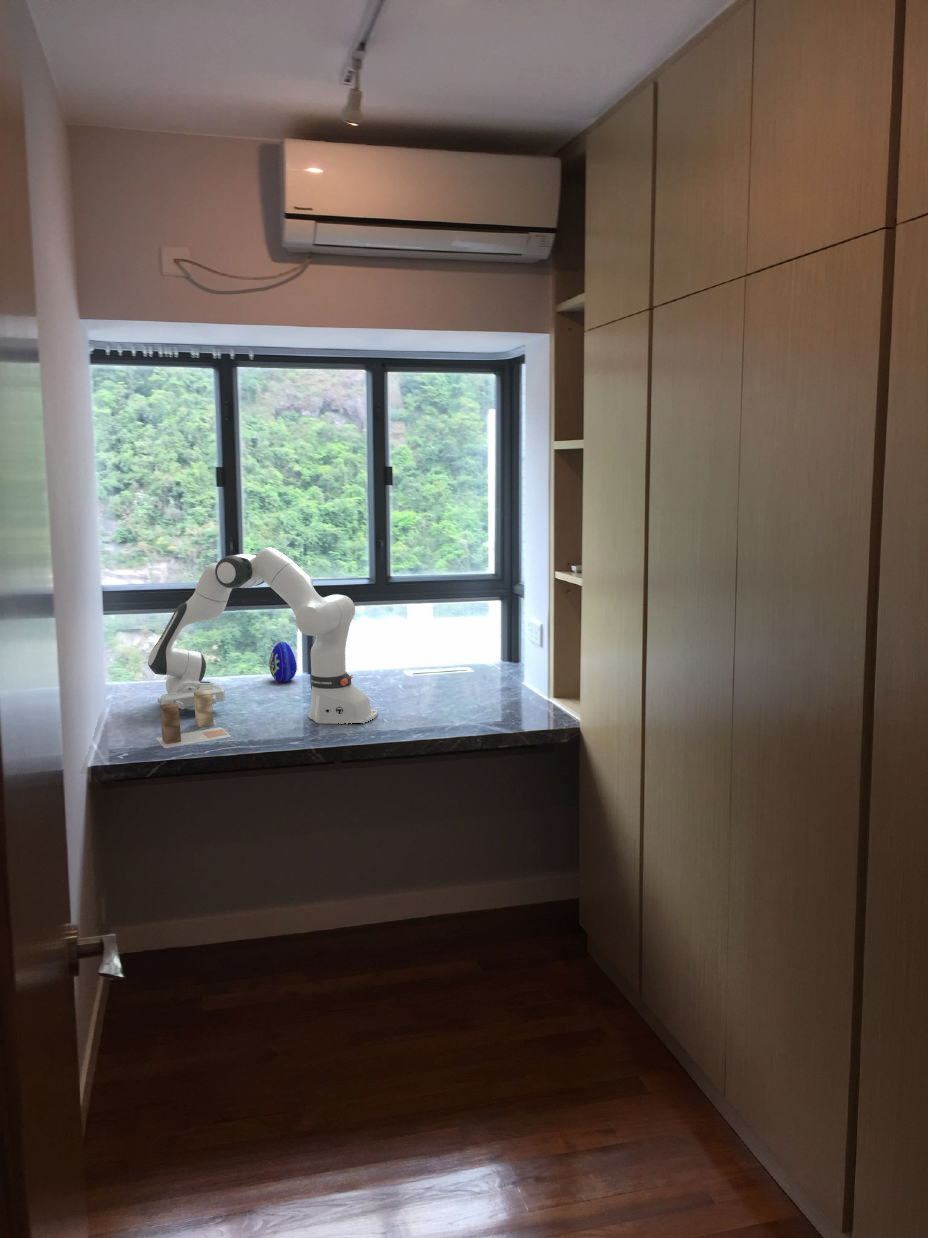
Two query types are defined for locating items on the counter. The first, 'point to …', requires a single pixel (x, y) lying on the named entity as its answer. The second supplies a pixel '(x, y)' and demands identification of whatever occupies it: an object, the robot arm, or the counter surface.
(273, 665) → the ornament
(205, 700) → the birch pillar
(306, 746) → the counter surface
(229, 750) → the counter surface
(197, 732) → the white mat
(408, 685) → the counter surface
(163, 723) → the walnut pillar
